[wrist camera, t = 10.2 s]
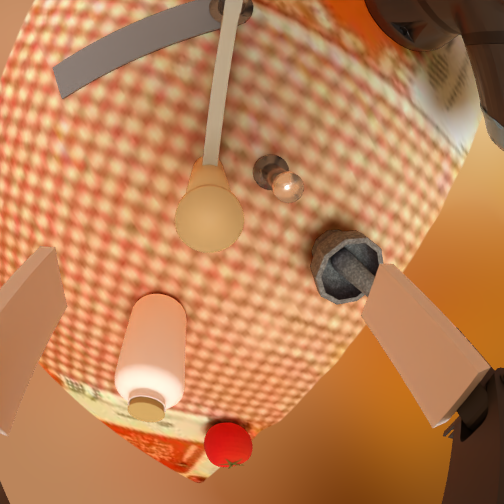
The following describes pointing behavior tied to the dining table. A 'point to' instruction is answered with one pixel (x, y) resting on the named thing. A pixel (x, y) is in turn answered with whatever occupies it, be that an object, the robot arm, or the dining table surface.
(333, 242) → the mortar and pestle
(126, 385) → the potion bottle
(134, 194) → the dining table surface
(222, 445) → the tomato
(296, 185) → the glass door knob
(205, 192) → the slotted fence panel
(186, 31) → the strip
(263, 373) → the dining table surface
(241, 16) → the brown knob post
